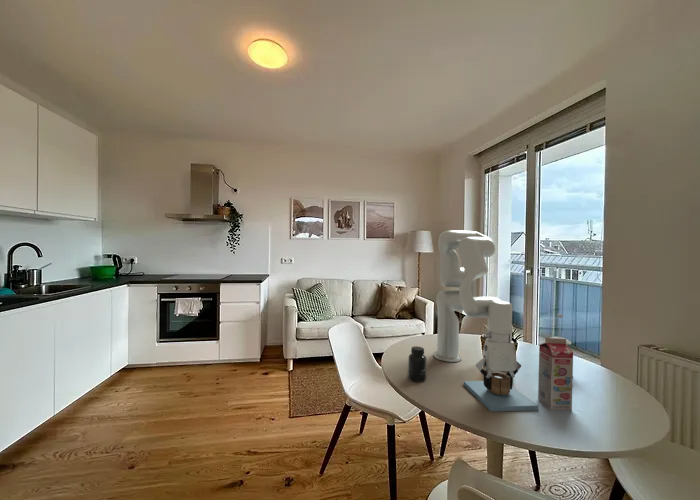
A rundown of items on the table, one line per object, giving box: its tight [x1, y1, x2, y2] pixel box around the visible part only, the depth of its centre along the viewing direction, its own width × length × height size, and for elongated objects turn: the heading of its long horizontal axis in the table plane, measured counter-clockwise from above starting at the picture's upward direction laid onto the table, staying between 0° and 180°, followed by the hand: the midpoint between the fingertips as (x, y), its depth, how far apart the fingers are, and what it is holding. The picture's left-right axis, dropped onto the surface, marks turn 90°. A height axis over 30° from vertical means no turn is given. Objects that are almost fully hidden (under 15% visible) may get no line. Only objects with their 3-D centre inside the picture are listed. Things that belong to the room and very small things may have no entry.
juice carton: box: [537, 337, 574, 411], centre depth 98 cm, size 7×7×22 cm
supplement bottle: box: [407, 345, 427, 383], centre depth 115 cm, size 7×7×12 cm
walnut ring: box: [489, 372, 510, 395], centre depth 102 cm, size 7×7×5 cm
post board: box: [463, 376, 539, 412], centre depth 102 cm, size 18×16×6 cm
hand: (497, 387), depth 102 cm, fingers closed on walnut ring, 7 cm apart
